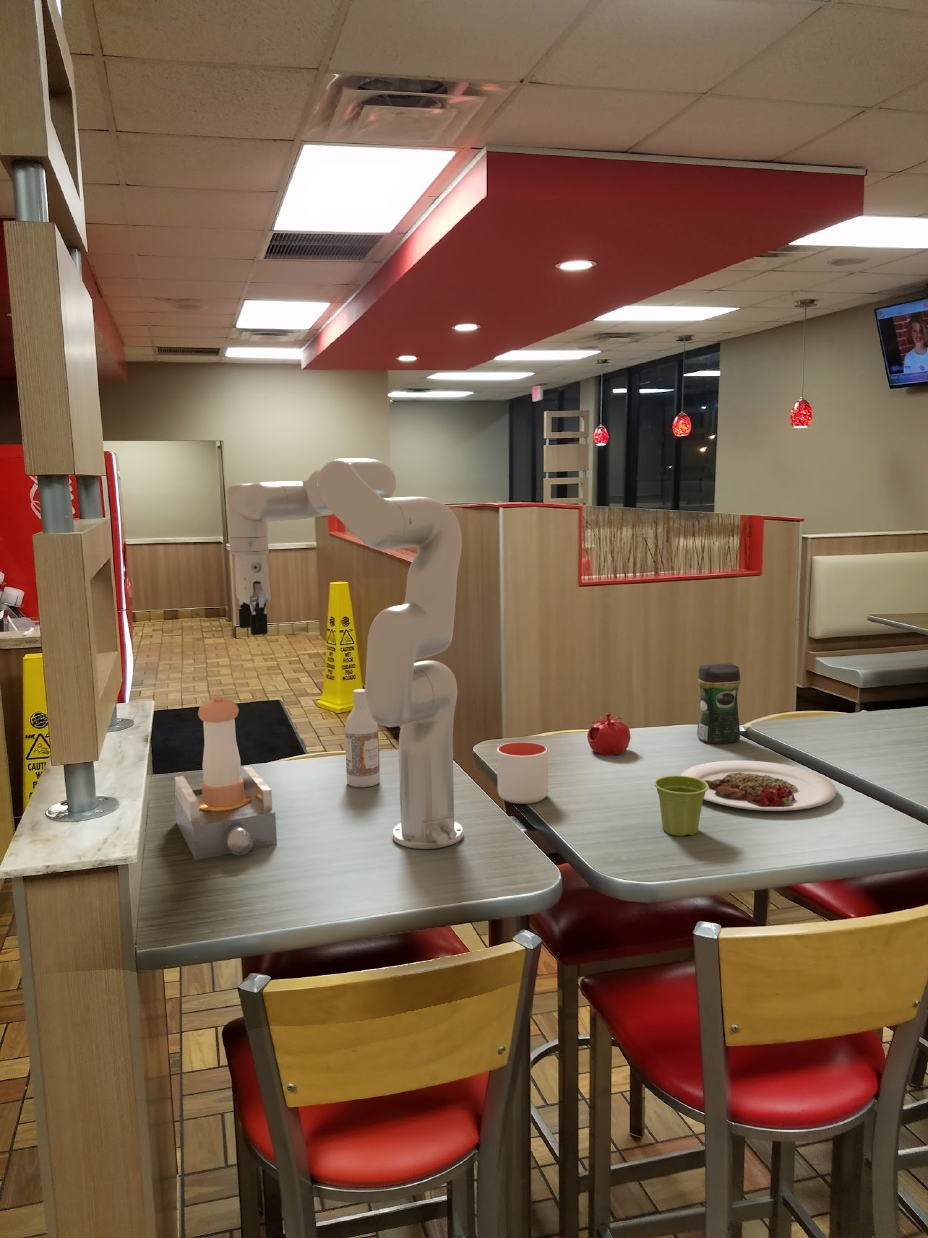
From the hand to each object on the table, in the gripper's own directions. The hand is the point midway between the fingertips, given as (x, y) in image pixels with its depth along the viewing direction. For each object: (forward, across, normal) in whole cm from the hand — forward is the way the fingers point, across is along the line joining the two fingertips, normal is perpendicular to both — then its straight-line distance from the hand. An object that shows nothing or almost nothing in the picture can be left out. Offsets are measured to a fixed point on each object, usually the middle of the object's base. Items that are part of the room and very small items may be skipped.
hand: (253, 630), depth 187 cm
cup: (+34, -30, -45) cm, 64 cm away
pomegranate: (+34, -12, -78) cm, 86 cm away
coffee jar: (+33, -18, -106) cm, 113 cm away
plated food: (+34, -50, -88) cm, 106 cm away
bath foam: (+34, -6, -20) cm, 40 cm away
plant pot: (+33, -59, -61) cm, 91 cm away
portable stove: (+33, -23, +12) cm, 42 cm away
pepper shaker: (+27, -21, +12) cm, 36 cm away
